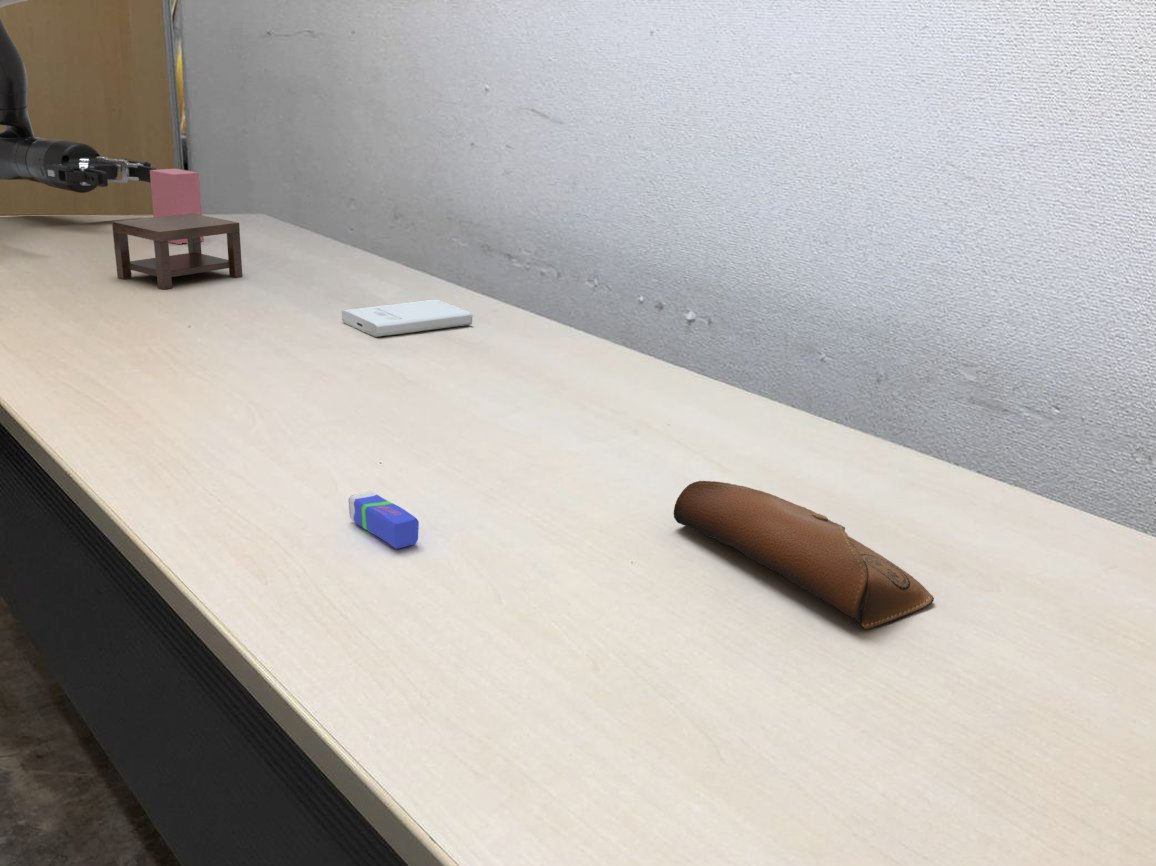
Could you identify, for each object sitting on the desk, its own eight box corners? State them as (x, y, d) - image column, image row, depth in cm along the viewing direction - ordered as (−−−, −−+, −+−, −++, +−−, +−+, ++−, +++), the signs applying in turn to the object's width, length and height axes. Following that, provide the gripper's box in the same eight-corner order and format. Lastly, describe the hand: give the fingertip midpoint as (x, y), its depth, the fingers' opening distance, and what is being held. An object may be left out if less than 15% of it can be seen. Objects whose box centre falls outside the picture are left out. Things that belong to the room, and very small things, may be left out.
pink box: (178, 244, 164) (173, 174, 160) (155, 239, 166) (149, 170, 162) (203, 241, 167) (198, 172, 163) (180, 236, 170) (175, 168, 166)
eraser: (374, 515, 79) (373, 488, 79) (419, 544, 75) (419, 517, 75) (348, 521, 78) (347, 494, 77) (393, 552, 74) (393, 524, 73)
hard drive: (472, 326, 131) (377, 338, 123) (435, 311, 137) (341, 321, 129) (472, 312, 130) (377, 323, 123) (435, 298, 136) (341, 307, 128)
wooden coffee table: (164, 289, 137) (159, 232, 135) (117, 277, 142) (111, 221, 139) (242, 276, 147) (239, 222, 145) (196, 265, 151) (192, 213, 149)
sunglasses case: (945, 595, 72) (926, 525, 68) (875, 669, 70) (850, 600, 66) (755, 500, 85) (729, 436, 81) (691, 560, 83) (660, 497, 79)
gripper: (17, 142, 169) (84, 154, 161) (103, 138, 180) (169, 149, 173) (24, 192, 171) (90, 207, 164) (108, 186, 183) (173, 199, 175)
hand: (131, 177), depth 168 cm, fingers open, 8 cm apart
